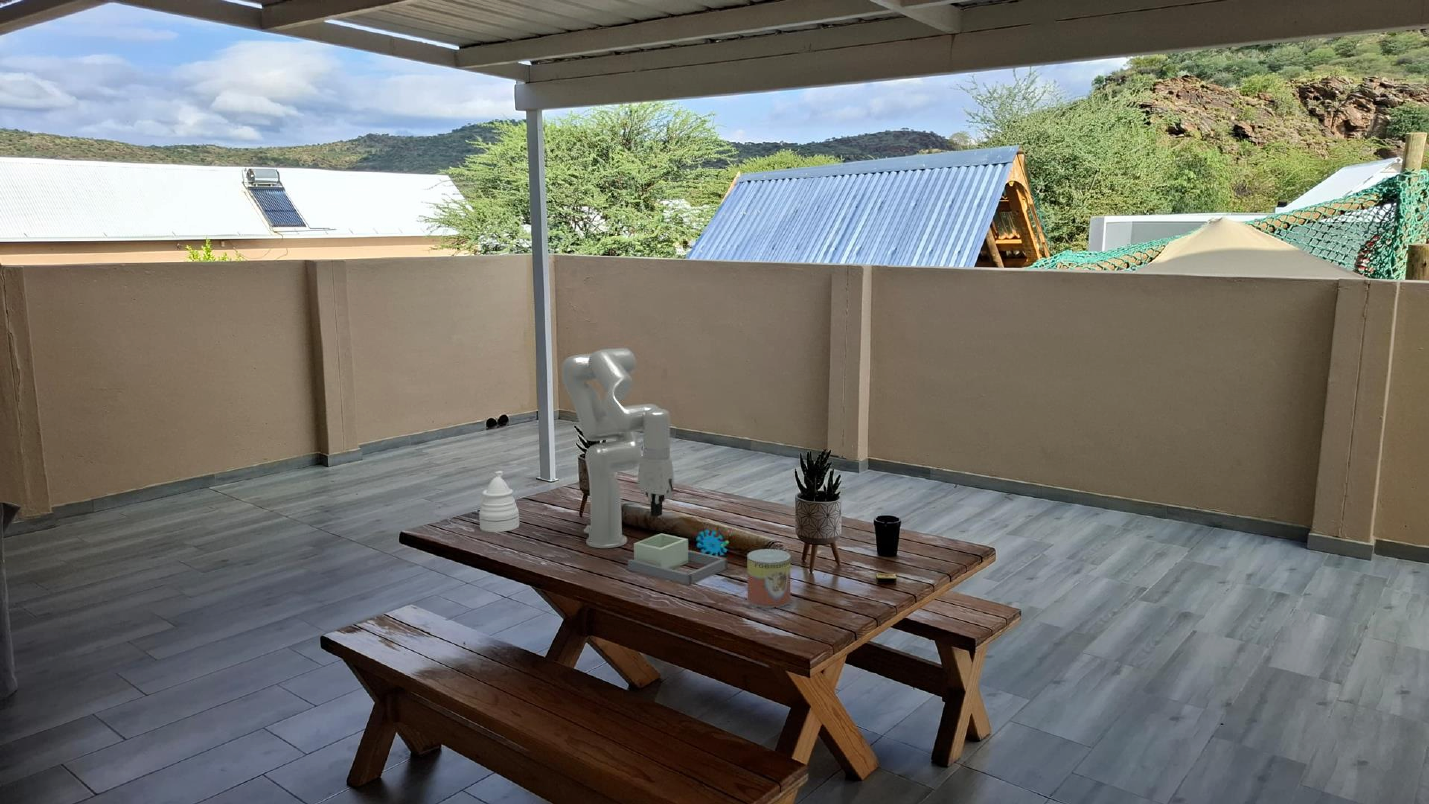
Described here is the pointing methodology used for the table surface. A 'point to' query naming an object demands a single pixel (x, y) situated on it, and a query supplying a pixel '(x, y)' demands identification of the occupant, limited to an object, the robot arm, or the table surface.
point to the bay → (712, 567)
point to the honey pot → (498, 507)
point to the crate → (662, 551)
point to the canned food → (768, 578)
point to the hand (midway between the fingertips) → (656, 515)
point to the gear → (711, 543)
